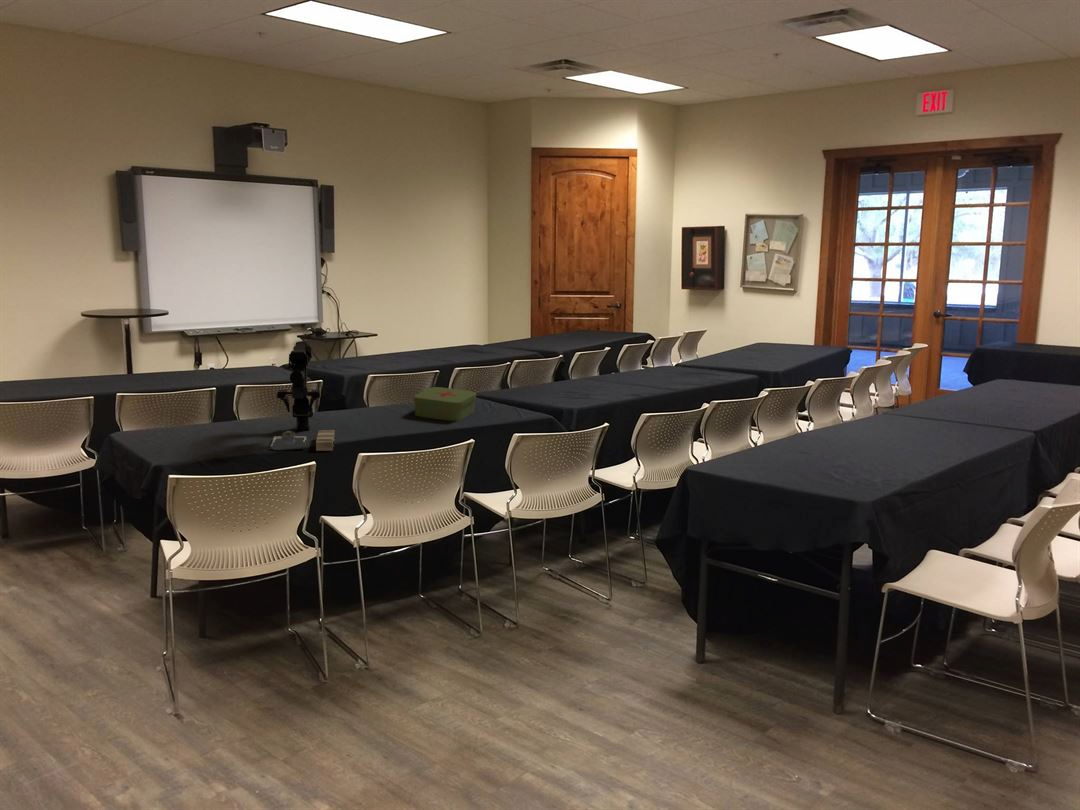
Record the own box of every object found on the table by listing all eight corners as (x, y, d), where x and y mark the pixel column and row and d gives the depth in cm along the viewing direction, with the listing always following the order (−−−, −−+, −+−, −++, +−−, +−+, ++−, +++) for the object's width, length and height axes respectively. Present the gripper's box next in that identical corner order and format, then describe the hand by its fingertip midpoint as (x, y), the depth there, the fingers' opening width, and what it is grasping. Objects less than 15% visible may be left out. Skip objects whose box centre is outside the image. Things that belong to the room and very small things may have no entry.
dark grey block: (283, 441, 395) (283, 430, 393) (295, 441, 395) (294, 430, 394) (281, 446, 388) (281, 434, 387) (293, 446, 389) (293, 434, 387)
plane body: (318, 438, 403) (318, 430, 402) (334, 438, 404) (334, 430, 403) (316, 450, 386) (315, 441, 384) (332, 450, 387) (332, 441, 386)
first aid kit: (410, 416, 447) (410, 397, 445) (432, 404, 471) (433, 386, 469) (458, 422, 439) (458, 403, 437) (478, 410, 463) (478, 391, 461)
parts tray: (274, 439, 398) (274, 436, 398) (306, 439, 401) (306, 436, 400) (270, 450, 383) (270, 447, 383) (303, 450, 385) (303, 446, 385)
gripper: (275, 382, 387) (276, 417, 391) (318, 383, 390) (319, 417, 394) (277, 377, 397) (278, 410, 401) (320, 377, 401) (321, 410, 405)
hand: (299, 412), depth 400 cm, fingers open, 9 cm apart
